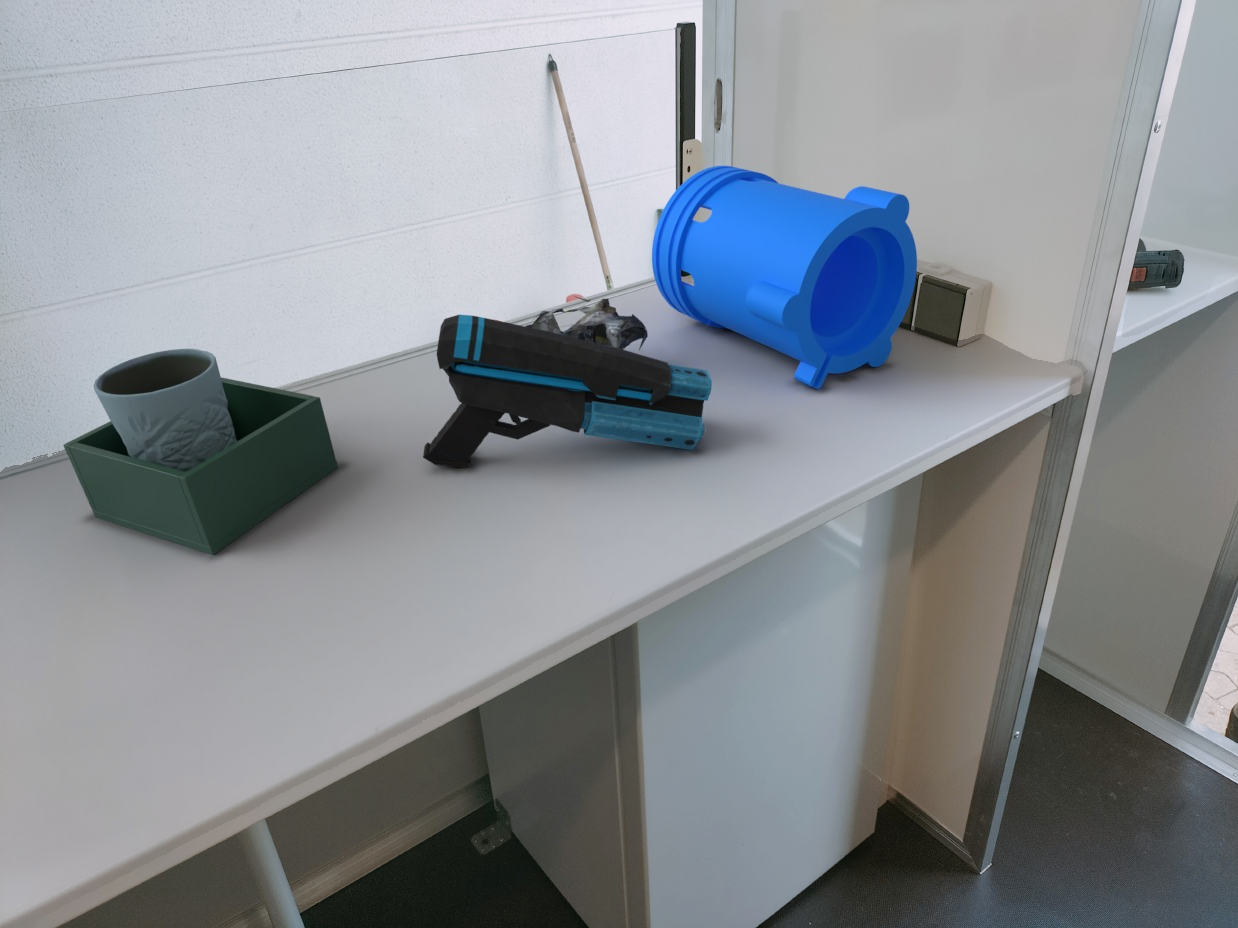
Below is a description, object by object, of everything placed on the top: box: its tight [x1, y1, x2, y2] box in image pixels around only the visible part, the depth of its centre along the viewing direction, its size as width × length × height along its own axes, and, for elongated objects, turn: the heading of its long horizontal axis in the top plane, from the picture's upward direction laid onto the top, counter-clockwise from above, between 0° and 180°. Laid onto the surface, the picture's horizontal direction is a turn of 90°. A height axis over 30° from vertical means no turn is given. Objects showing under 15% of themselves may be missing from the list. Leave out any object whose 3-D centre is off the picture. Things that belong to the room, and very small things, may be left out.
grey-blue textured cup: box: [93, 348, 238, 472], centre depth 79 cm, size 10×10×12 cm
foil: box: [524, 295, 649, 351], centre depth 99 cm, size 12×11×15 cm
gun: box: [422, 314, 713, 468], centre depth 83 cm, size 8×26×15 cm, turn 97°
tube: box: [651, 165, 918, 390], centre depth 100 cm, size 25×22×19 cm
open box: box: [62, 376, 339, 556], centre depth 80 cm, size 16×16×8 cm
